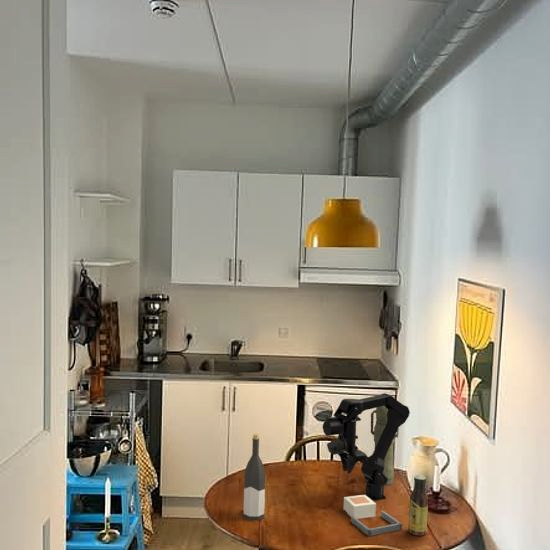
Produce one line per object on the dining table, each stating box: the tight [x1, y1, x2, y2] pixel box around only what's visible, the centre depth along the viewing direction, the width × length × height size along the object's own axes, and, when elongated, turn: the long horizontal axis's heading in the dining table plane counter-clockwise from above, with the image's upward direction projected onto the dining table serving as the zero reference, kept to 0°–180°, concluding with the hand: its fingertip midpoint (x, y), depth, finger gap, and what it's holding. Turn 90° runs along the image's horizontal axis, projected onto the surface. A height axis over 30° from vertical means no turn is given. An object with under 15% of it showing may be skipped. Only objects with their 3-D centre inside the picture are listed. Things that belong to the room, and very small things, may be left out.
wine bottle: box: [243, 433, 266, 522], centre depth 211 cm, size 8×8×30 cm
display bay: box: [350, 510, 403, 537], centre depth 206 cm, size 14×12×2 cm
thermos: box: [370, 406, 400, 487], centre depth 247 cm, size 9×12×35 cm
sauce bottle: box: [408, 474, 429, 536], centre depth 202 cm, size 7×6×20 cm
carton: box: [343, 494, 377, 520], centre depth 216 cm, size 9×8×5 cm
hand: (347, 472), depth 225 cm, fingers open, 3 cm apart
